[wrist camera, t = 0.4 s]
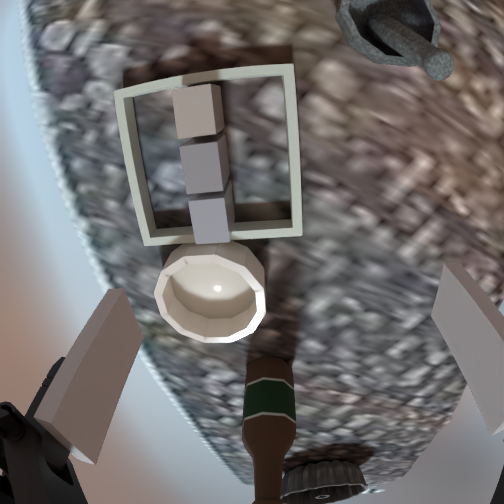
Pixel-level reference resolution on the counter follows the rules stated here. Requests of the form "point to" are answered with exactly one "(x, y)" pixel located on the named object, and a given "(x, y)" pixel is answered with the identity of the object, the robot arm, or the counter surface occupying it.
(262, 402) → the beer bottle
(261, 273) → the bowl
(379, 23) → the mortar and pestle
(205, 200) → the light grey cuboid
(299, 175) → the square frame
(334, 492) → the bundt pan
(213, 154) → the grey rectangular block
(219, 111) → the taupe block
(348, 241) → the counter surface
